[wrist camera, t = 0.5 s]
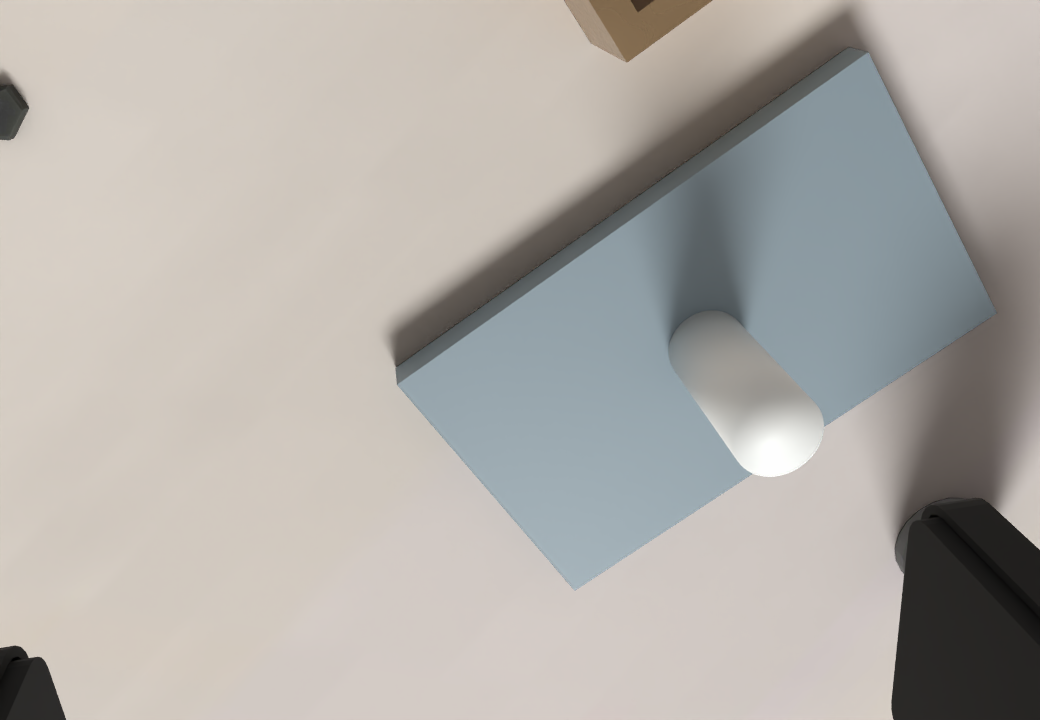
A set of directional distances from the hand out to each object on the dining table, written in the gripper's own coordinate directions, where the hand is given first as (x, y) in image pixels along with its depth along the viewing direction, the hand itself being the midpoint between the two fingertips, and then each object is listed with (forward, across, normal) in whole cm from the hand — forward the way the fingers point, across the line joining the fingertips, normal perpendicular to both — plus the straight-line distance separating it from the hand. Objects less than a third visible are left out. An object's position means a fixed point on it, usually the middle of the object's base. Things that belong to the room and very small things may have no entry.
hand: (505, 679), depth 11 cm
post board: (+26, -10, +8) cm, 29 cm away
